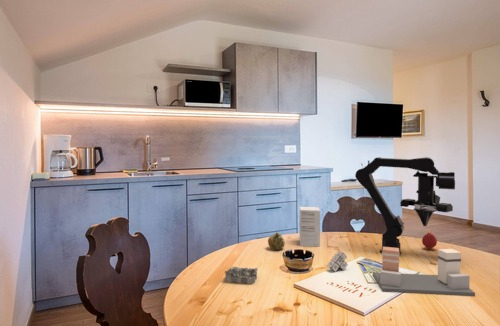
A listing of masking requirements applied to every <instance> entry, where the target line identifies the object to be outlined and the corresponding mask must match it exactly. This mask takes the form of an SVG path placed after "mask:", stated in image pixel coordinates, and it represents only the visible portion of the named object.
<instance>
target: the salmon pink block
mask: <svg viewBox="0 0 500 326" xmlns="http://www.w3.org/2000/svg"><path fill="white" fill-rule="evenodd" d="M381 250H382V249H381ZM381 253H382V254H381V256H382V257H381V258H382V259H381V260H382V261H381V262H382V265H381V266H382V267H381V268H382V269H381V270H385V271H393V272H400V267H399V266H400V253H399V248H392V247H383V250H382V252H381Z"/></svg>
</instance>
